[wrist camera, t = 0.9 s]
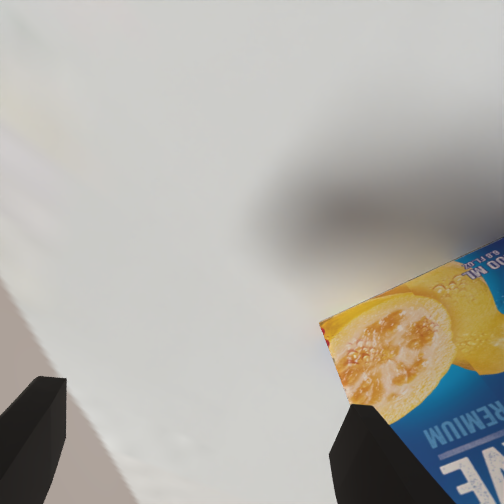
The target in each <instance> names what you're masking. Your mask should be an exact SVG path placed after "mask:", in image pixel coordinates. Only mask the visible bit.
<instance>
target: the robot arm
mask: <svg viewBox="0 0 504 504" xmlns="http://www.w3.org/2000/svg"><path fill="white" fill-rule="evenodd" d="M66 383H67V378H55V377H44V376H38V377H37V378H35V379H34V380H33V381H32V382H31V383H30V384H29V385H28V387H27V388H26V389H25V390H24V391H23V392H22V393H21V394H20V395H19V396H18V398H17V399H16V400H15V401H14V402H13V403H12V404H11V405H10V406H9V407H8V408H7V409H6V410H5V411H4V412H3V413H2V414H1V415H0V504H43V503H44V500H45V498H46V495H47V493H48V491H49V488H50V485H51V483H52V480H53V477H54V474H55V471H56V468H57V465H58V461H59V458H60V455H61V451H62V448H63V445H64V441H65V438H66ZM329 459H330V465H331V472H332V478H333V484H334V489H335V495H336V499H337V503H338V504H456V503H455V502H454V501H453V499H452V498H451V497H450V496H449V495H448V494H447V493H446V492H445V490H444V489H443V488H442V487H441V486H440V485H439V484H438V482H437V481H436V480H435V479H434V478H433V477H432V476H431V474H430V473H429V472H428V471H427V470H426V469H425V467H424V466H423V465H422V464H421V463H420V461H419V460H418V459H417V458H416V457H415V456H414V454H413V453H412V452H411V451H410V450H409V448H408V447H407V446H406V445H405V444H404V442H403V441H402V440H401V439H400V437H399V436H398V435H397V434H396V433H395V431H394V430H393V429H392V428H391V427H390V425H389V424H388V423H387V422H386V421H385V419H384V418H383V417H382V416H381V415H380V413H379V412H378V411H377V410H376V409H375V408H374V407H373V406H371V405H360V404H351V406H350V408H349V411H348V413H347V415H346V417H345V420H344V422H343V424H342V426H341V428H340V431H339V433H338V435H337V437H336V440H335V442H334V444H333V446H332V449H331V451H330V453H329Z"/></svg>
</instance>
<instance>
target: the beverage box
mask: <svg viewBox="0 0 504 504" xmlns="http://www.w3.org/2000/svg"><path fill="white" fill-rule="evenodd" d="M319 324H320V327H321V330H322V332H323V335H324V338H325V340H326V343H327V345H328V348H329V351H330V353H331V356H332V358H333V361H334V364H335V366H336V369H337V371H338V374H339V377H340V379H341V382H342V385H343V387H344V390H345V392H346V395H347V398H348V400H349V403H350V405H351V404H360V405H371V406H373V407H374V408H375V409H376V410H377V411H378V412H379V413H380V415H381V416H382V417H383V418H384V419H385V421H386V422H387V423H388V424H389V425H390V427H391V428H392V429H393V430H394V431H395V433H396V434H397V435H398V436H399V437H400V439H401V440H402V441H403V442H404V444H405V445H406V446H407V447H408V448H409V450H410V451H411V452H412V453H413V454H414V456H415V457H416V458H417V459H418V460H419V461H420V463H421V464H422V465H423V466H424V467H425V469H426V470H427V471H428V472H429V473H430V474H431V476H432V477H433V478H434V479H435V480H436V481H437V482H438V484H439V485H440V486H441V487H442V488H443V489H444V490H445V492H446V493H447V494H448V495H449V496H450V497H451V498H452V499H453V501H454V502H455V503H456V504H504V237H503V238H501V239H498V240H496V241H494V242H492V243H490V244H488V245H485V246H483V247H481V248H479V249H477V250H475V251H472V252H470V253H468V254H466V255H464V256H462V257H460V258H457V259H455V260H453V261H451V262H449V263H447V264H444V265H442V266H440V267H438V268H436V269H434V270H431V271H429V272H427V273H425V274H423V275H421V276H419V277H416V278H414V279H412V280H410V281H408V282H406V283H403V284H401V285H399V286H397V287H395V288H393V289H390V290H388V291H386V292H384V293H382V294H380V295H377V296H375V297H373V298H371V299H369V300H367V301H365V302H362V303H360V304H358V305H356V306H354V307H352V308H349V309H347V310H345V311H343V312H341V313H339V314H336V315H334V316H332V317H330V318H328V319H326V320H323V321H321V322H319Z"/></svg>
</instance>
